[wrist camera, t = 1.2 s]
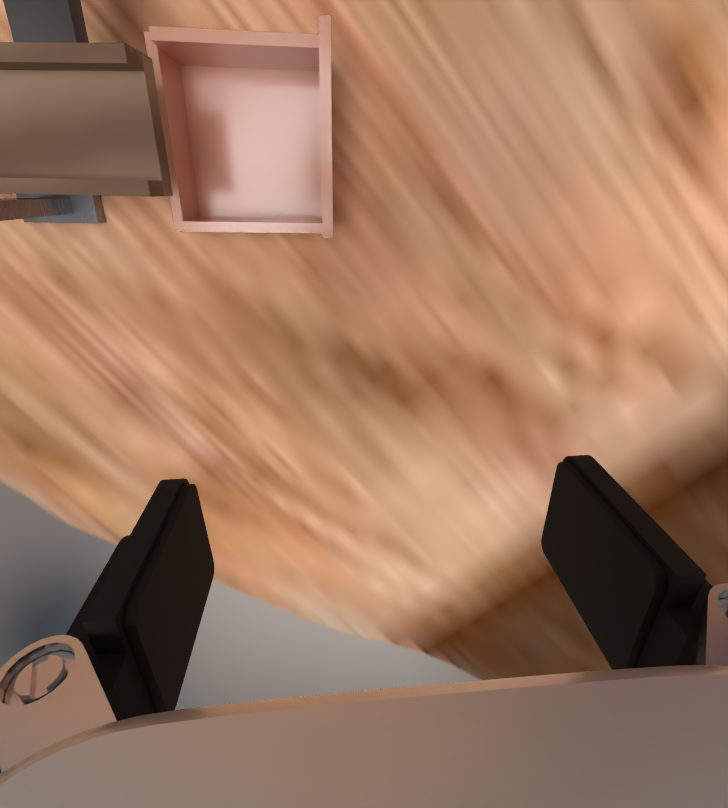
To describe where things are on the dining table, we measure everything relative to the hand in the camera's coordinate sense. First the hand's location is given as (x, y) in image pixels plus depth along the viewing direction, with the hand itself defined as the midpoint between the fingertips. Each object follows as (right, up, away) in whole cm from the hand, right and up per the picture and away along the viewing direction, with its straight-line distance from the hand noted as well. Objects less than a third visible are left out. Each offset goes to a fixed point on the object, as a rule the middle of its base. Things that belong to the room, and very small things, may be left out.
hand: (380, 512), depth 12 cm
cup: (-8, +21, +20) cm, 30 cm away
